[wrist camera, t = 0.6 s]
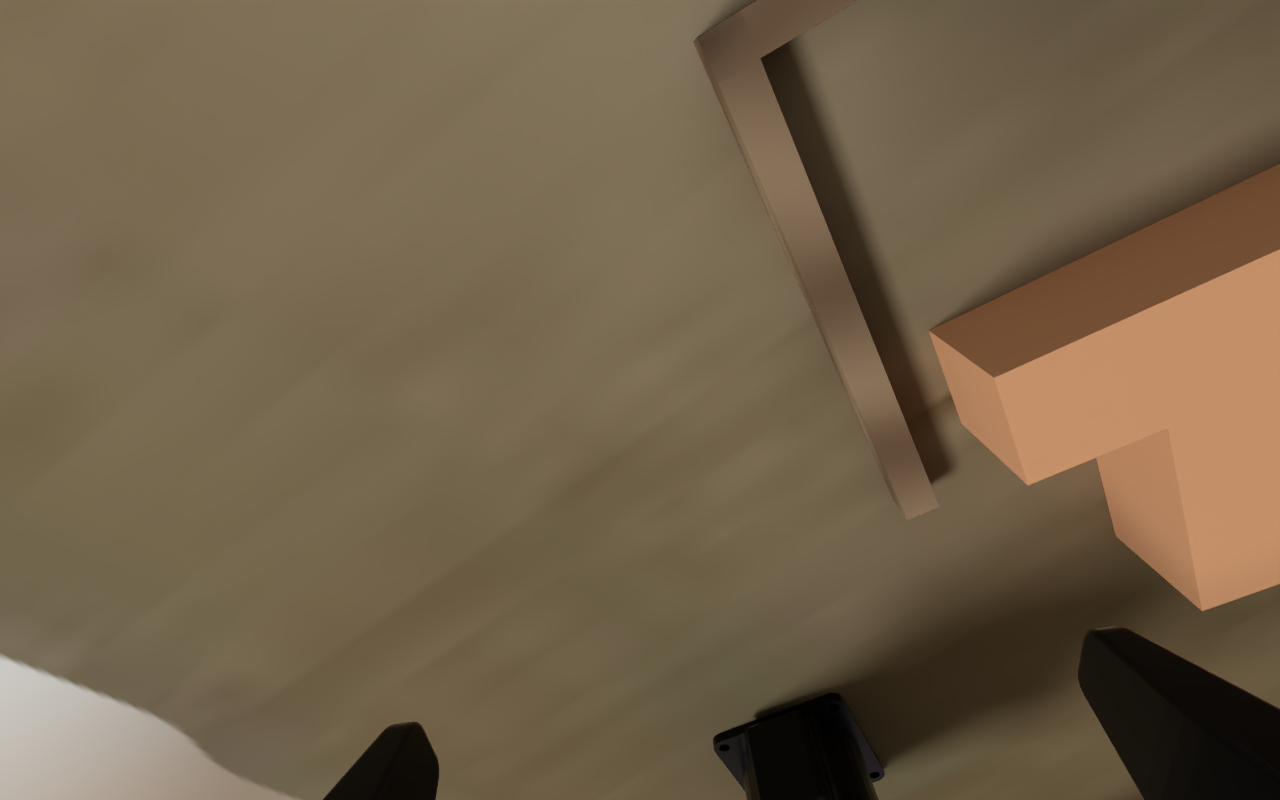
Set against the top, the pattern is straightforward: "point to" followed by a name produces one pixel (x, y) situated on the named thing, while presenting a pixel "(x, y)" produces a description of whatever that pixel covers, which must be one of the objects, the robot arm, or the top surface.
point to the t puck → (1149, 386)
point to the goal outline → (809, 226)
